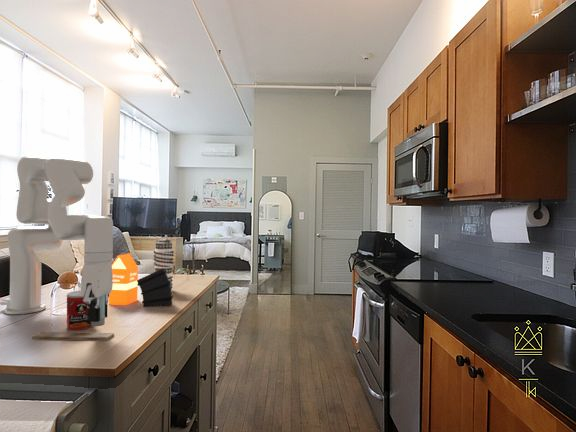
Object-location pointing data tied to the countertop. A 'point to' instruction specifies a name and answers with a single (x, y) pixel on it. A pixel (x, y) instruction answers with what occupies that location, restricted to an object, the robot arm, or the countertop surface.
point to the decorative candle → (164, 257)
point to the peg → (102, 311)
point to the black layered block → (156, 289)
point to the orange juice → (124, 281)
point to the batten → (73, 336)
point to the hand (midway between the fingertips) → (97, 318)
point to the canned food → (77, 312)
